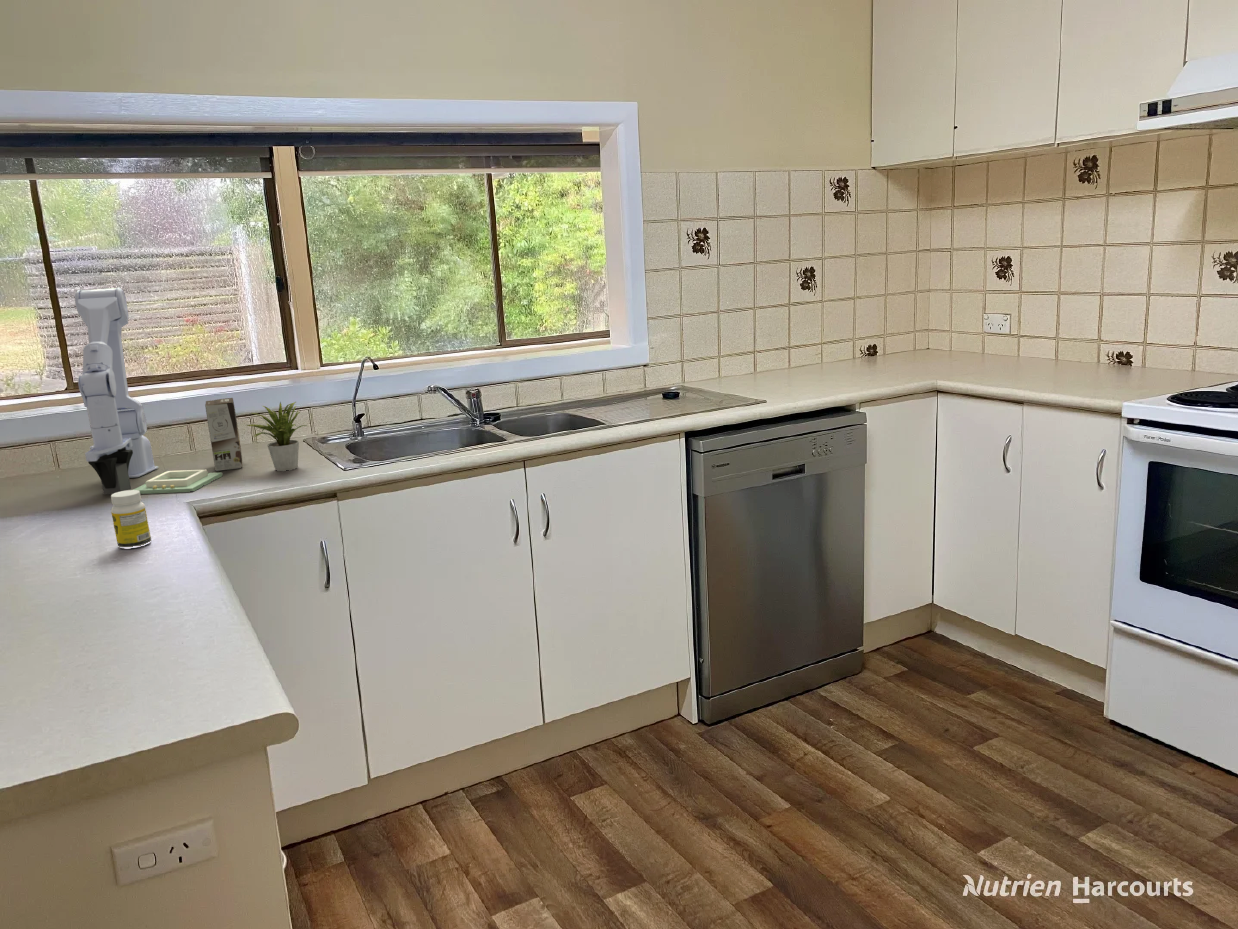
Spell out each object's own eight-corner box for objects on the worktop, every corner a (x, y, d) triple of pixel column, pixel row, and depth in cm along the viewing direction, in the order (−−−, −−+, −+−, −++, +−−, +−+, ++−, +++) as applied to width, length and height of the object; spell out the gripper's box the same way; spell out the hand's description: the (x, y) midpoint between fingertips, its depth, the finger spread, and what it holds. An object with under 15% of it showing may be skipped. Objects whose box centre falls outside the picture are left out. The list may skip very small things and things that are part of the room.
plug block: (114, 489, 213) (109, 463, 211) (131, 488, 213) (126, 463, 211) (103, 494, 209) (98, 468, 207) (121, 493, 209) (116, 467, 207)
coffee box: (243, 468, 227) (233, 402, 223) (214, 471, 225) (204, 405, 221) (243, 460, 235) (233, 396, 231) (215, 464, 233) (205, 399, 229)
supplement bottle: (120, 543, 172) (110, 491, 169) (153, 538, 174) (144, 487, 171) (116, 552, 167) (105, 499, 164) (150, 547, 169) (140, 494, 166)
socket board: (164, 478, 221) (163, 469, 220) (222, 475, 220) (221, 466, 220) (131, 494, 207) (129, 484, 207) (193, 491, 207) (191, 482, 206)
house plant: (272, 461, 233) (263, 395, 229) (326, 459, 231) (317, 393, 227) (244, 475, 219) (234, 406, 215) (302, 474, 217) (292, 404, 214)
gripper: (106, 420, 214) (117, 477, 218) (67, 433, 200) (79, 494, 204) (136, 418, 214) (147, 476, 217) (99, 431, 200) (110, 493, 203)
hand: (116, 485), depth 210 cm, fingers closed on plug block, 4 cm apart
